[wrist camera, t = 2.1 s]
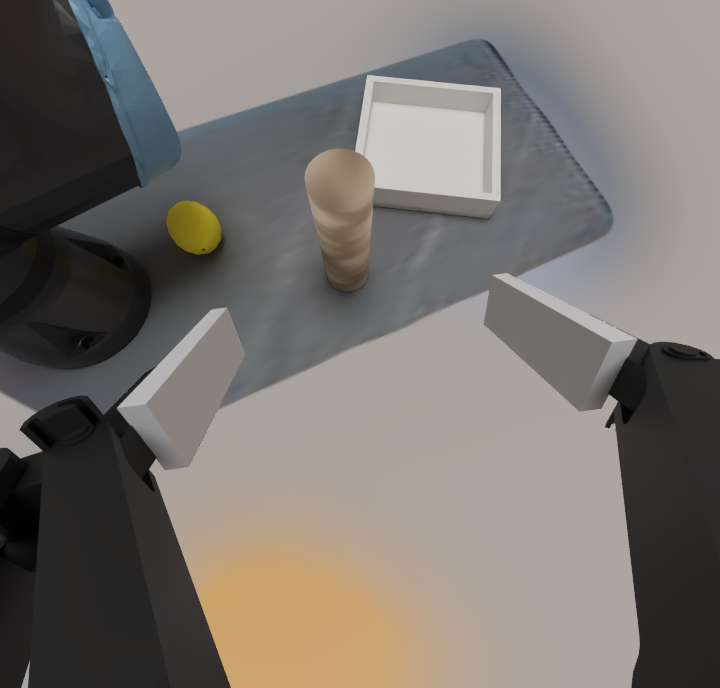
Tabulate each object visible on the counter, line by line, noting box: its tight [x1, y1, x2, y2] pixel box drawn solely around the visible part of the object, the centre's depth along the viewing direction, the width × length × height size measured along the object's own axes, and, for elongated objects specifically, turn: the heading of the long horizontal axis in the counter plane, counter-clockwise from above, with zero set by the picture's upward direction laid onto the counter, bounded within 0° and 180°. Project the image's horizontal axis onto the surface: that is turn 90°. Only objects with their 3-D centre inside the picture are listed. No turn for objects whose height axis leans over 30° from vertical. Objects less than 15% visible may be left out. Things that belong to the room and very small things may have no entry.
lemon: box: [166, 201, 221, 255], centre depth 31 cm, size 7×5×5 cm
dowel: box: [305, 149, 375, 292], centre depth 26 cm, size 5×5×14 cm
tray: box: [355, 75, 501, 219], centre depth 35 cm, size 18×18×3 cm
